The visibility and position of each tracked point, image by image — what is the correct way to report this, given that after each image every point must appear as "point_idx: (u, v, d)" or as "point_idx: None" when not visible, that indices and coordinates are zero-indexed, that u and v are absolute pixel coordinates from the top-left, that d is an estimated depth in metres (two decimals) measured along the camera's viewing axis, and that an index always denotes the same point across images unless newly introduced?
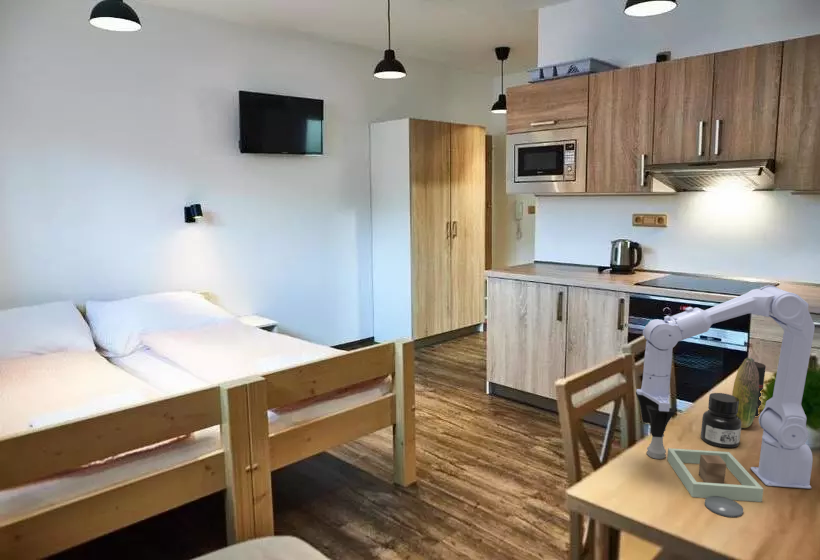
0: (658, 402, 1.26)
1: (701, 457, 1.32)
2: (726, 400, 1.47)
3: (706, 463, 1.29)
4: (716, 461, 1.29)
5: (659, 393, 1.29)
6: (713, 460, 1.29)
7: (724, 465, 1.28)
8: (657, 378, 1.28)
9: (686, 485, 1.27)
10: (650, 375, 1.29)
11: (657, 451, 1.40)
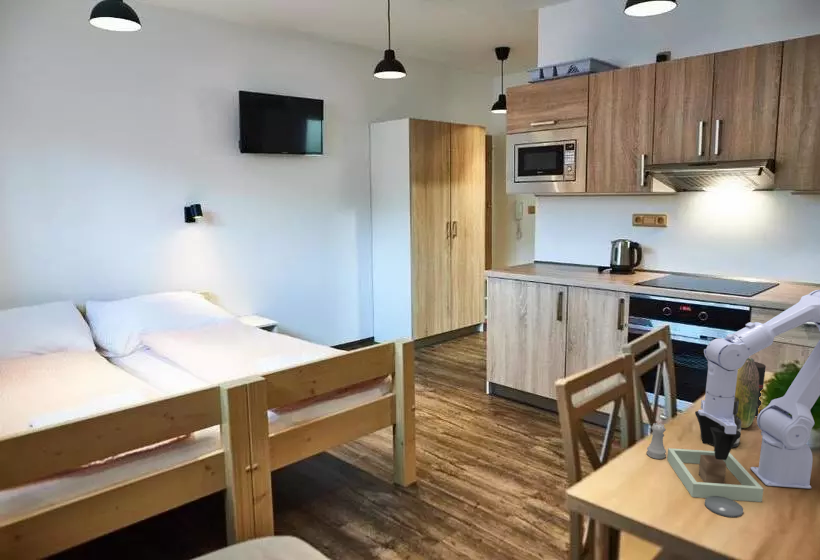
0: (724, 424, 1.22)
1: (701, 457, 1.32)
2: None
3: (706, 463, 1.29)
4: (716, 461, 1.29)
5: (723, 414, 1.25)
6: (713, 460, 1.29)
7: (724, 465, 1.28)
8: (722, 399, 1.25)
9: (686, 485, 1.27)
10: (714, 396, 1.26)
11: (657, 451, 1.40)
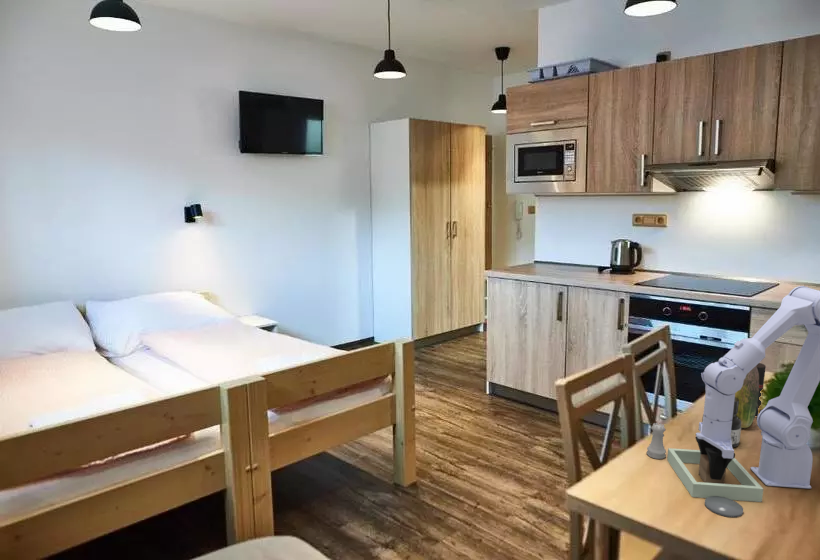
0: (721, 449, 1.23)
1: (701, 457, 1.32)
2: None
3: (706, 463, 1.29)
4: None
5: (721, 438, 1.26)
6: None
7: None
8: (719, 423, 1.26)
9: (686, 485, 1.27)
10: (712, 420, 1.27)
11: (657, 451, 1.40)
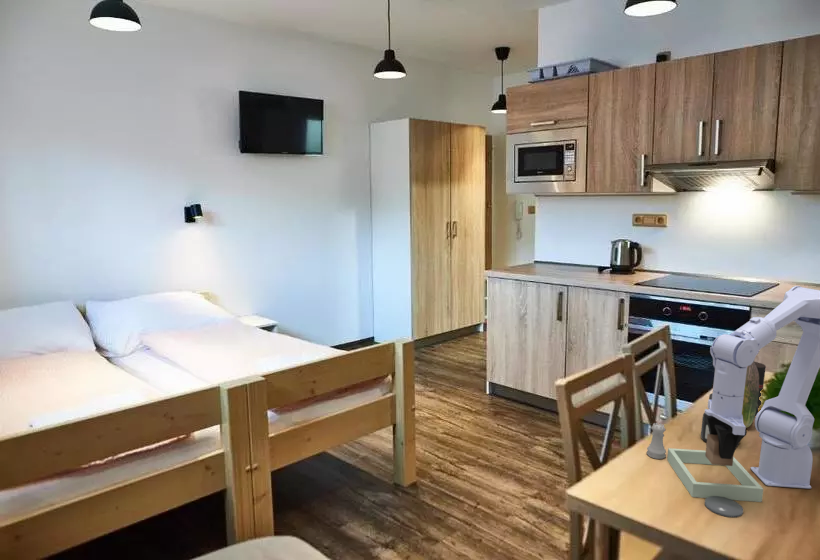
0: (732, 425, 1.16)
1: (708, 437, 1.24)
2: None
3: (713, 442, 1.21)
4: None
5: (732, 414, 1.19)
6: None
7: None
8: (730, 398, 1.18)
9: (686, 485, 1.27)
10: (722, 395, 1.19)
11: (657, 451, 1.40)
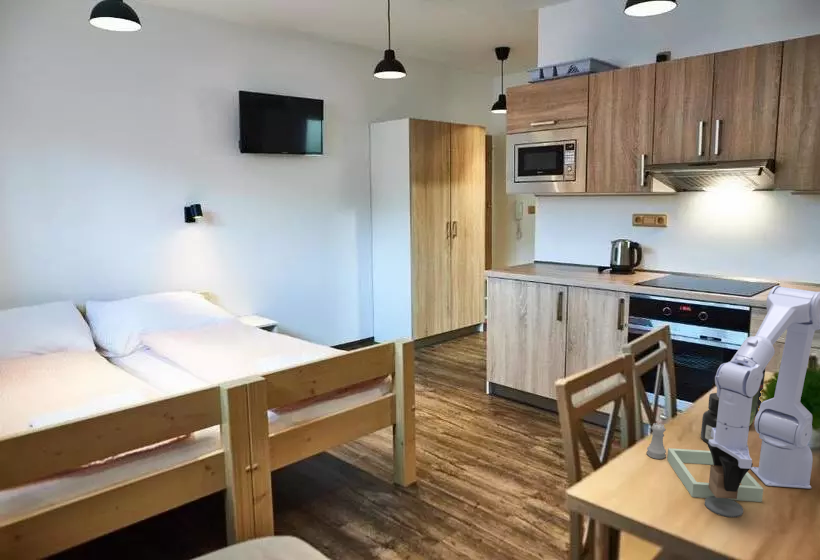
0: (738, 458, 1.11)
1: (711, 468, 1.20)
2: None
3: (717, 475, 1.17)
4: None
5: (737, 446, 1.14)
6: None
7: None
8: (735, 429, 1.14)
9: (686, 485, 1.27)
10: (726, 425, 1.14)
11: (657, 451, 1.40)
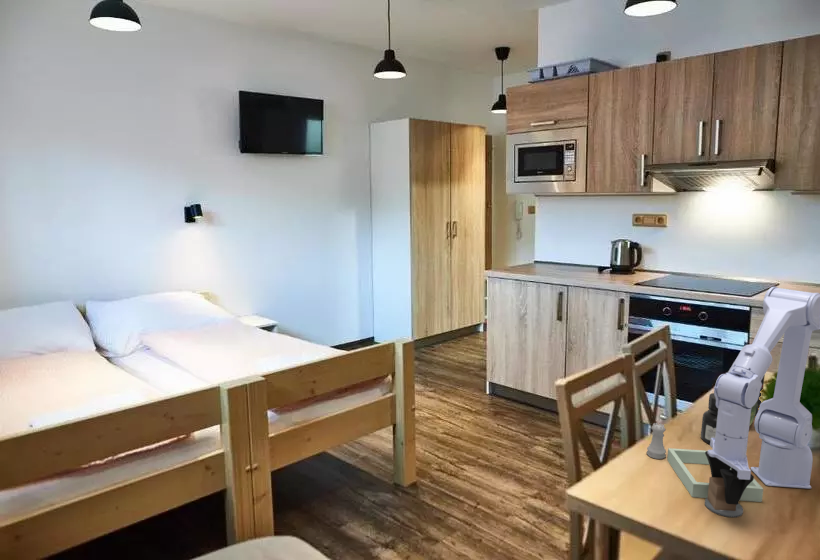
0: (737, 468, 1.11)
1: (710, 480, 1.20)
2: None
3: (716, 487, 1.17)
4: None
5: (736, 457, 1.14)
6: (723, 484, 1.18)
7: None
8: (734, 440, 1.14)
9: (686, 485, 1.27)
10: (725, 436, 1.15)
11: (657, 451, 1.40)
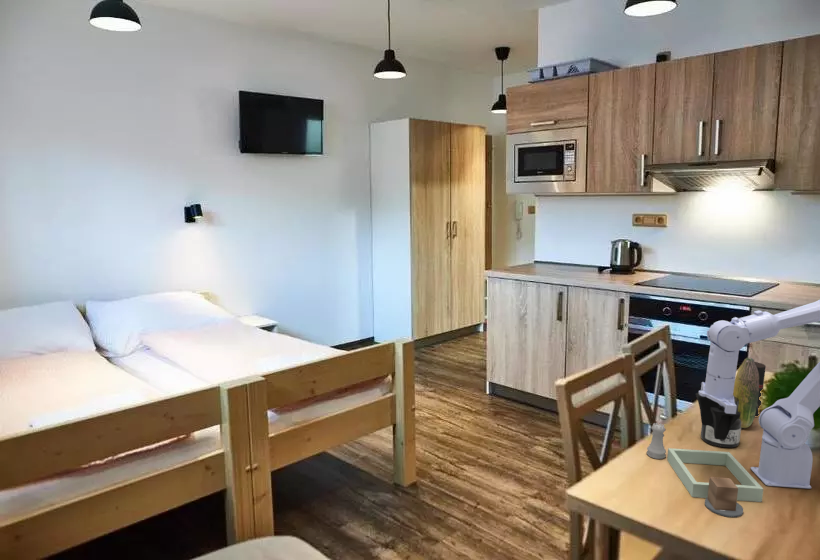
0: (724, 404, 1.24)
1: (710, 480, 1.20)
2: None
3: (716, 487, 1.17)
4: (727, 485, 1.17)
5: (724, 395, 1.27)
6: (723, 484, 1.18)
7: (736, 489, 1.16)
8: (722, 380, 1.27)
9: (686, 485, 1.27)
10: (715, 377, 1.27)
11: (657, 451, 1.40)
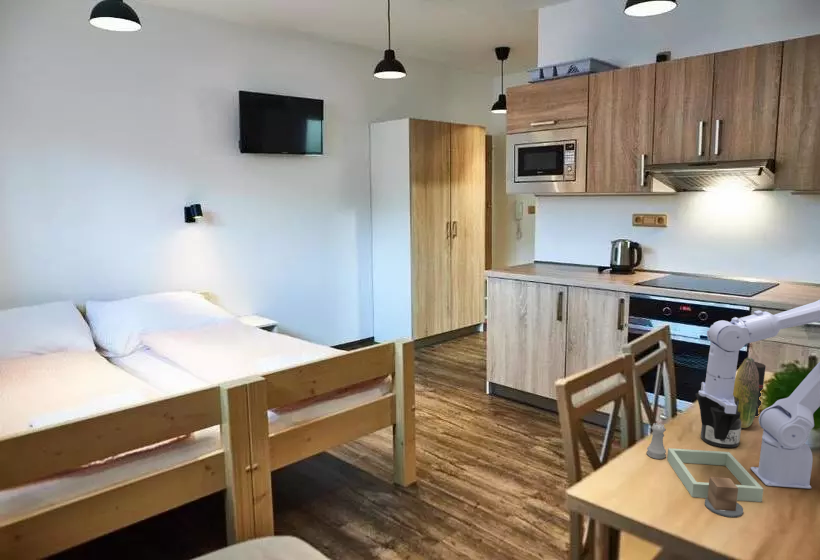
0: (724, 404, 1.24)
1: (710, 480, 1.20)
2: None
3: (716, 487, 1.17)
4: (727, 485, 1.17)
5: (724, 395, 1.27)
6: (723, 484, 1.18)
7: (736, 489, 1.16)
8: (722, 380, 1.27)
9: (686, 485, 1.27)
10: (715, 377, 1.27)
11: (657, 451, 1.40)
